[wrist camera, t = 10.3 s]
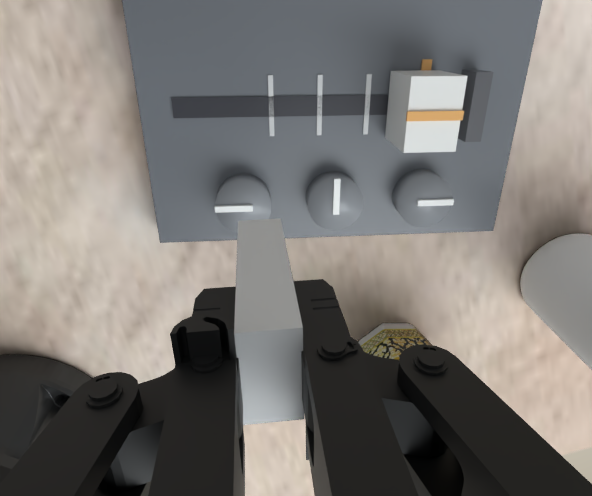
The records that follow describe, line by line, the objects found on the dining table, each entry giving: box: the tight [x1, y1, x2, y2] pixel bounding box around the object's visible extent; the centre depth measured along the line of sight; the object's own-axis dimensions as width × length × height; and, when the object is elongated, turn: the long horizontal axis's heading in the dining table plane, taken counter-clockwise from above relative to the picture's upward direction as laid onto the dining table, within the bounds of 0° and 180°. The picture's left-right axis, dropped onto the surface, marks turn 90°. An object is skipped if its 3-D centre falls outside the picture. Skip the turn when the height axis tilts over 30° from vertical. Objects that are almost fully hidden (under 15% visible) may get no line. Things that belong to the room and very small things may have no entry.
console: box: [122, 0, 542, 243], centre depth 28 cm, size 24×16×4 cm, turn 90°
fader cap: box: [385, 70, 468, 153], centre depth 25 cm, size 3×4×4 cm
